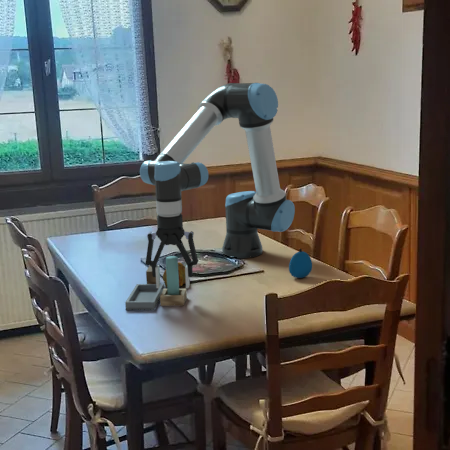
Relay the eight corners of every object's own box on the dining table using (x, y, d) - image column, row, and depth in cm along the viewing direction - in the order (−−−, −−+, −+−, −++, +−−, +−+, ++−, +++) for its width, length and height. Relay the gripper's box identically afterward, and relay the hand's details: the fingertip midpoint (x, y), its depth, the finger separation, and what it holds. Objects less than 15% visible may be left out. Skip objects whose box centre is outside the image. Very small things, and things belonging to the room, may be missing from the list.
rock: (161, 296, 229) (161, 269, 235) (186, 298, 231) (185, 271, 236) (166, 281, 220) (166, 254, 225) (192, 283, 222) (191, 255, 227)
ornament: (308, 274, 234) (308, 245, 232) (314, 277, 230) (314, 248, 228) (286, 277, 232) (285, 248, 229) (292, 281, 227) (292, 252, 225)
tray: (163, 291, 221) (163, 284, 221) (154, 310, 205) (153, 302, 205) (137, 291, 222) (136, 284, 222) (125, 310, 206) (125, 302, 205)
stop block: (160, 282, 231) (159, 265, 229) (156, 289, 224) (155, 271, 222) (151, 282, 231) (150, 265, 229) (147, 289, 224) (146, 271, 223)
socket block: (186, 297, 215) (186, 288, 214) (183, 305, 208) (183, 296, 208) (164, 297, 216) (163, 288, 215) (160, 305, 209) (160, 296, 208)
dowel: (180, 299, 214) (178, 256, 210) (178, 303, 210) (176, 259, 207) (169, 299, 214) (166, 256, 211) (167, 303, 210) (164, 259, 207)
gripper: (206, 210, 208) (208, 282, 214) (136, 211, 210) (141, 282, 215) (203, 216, 201) (206, 290, 206) (131, 217, 203) (136, 290, 208)
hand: (173, 286), depth 211 cm, fingers open, 8 cm apart
